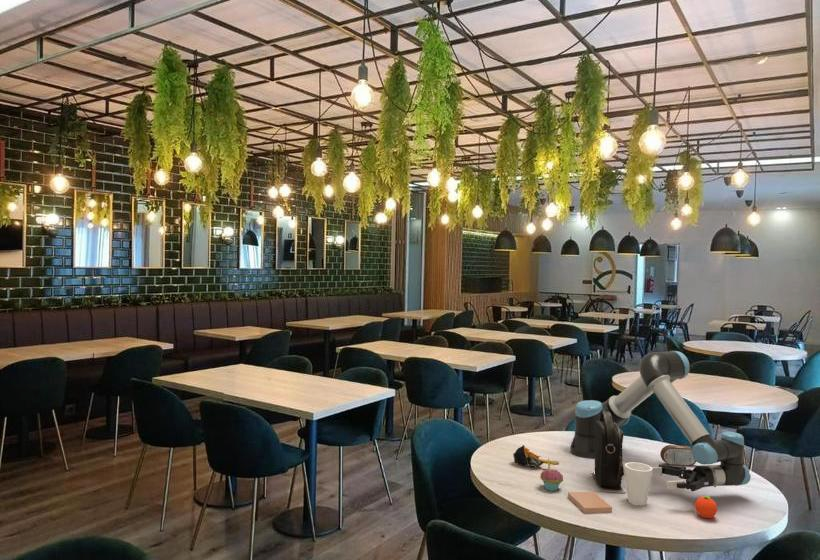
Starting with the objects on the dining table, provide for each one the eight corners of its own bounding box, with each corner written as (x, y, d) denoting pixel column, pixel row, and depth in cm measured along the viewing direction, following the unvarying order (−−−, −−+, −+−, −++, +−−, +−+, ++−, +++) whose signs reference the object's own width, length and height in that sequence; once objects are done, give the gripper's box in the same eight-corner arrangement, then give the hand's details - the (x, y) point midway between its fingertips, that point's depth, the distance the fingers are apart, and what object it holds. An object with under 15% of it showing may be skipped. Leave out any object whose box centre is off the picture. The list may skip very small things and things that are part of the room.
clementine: (700, 510, 202) (701, 490, 202) (721, 517, 197) (722, 496, 197) (690, 516, 197) (691, 496, 197) (712, 523, 192) (712, 502, 192)
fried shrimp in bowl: (512, 449, 251) (552, 439, 248) (519, 474, 247) (560, 465, 243) (509, 446, 243) (550, 436, 240) (516, 473, 238) (558, 463, 235)
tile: (593, 491, 212) (568, 492, 211) (612, 507, 199) (584, 508, 197) (593, 497, 212) (567, 498, 211) (611, 513, 199) (584, 514, 197)
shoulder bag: (589, 471, 239) (591, 404, 239) (612, 472, 238) (614, 405, 237) (600, 491, 217) (602, 418, 216) (625, 493, 216) (627, 420, 215)
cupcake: (549, 494, 213) (551, 462, 213) (535, 486, 221) (536, 455, 220) (567, 490, 217) (568, 459, 217) (552, 482, 225) (553, 452, 224)
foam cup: (650, 499, 211) (651, 464, 211) (652, 509, 202) (653, 472, 202) (622, 495, 214) (624, 461, 214) (623, 504, 205) (625, 469, 205)
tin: (695, 465, 250) (696, 445, 250) (698, 467, 247) (698, 448, 247) (659, 462, 252) (660, 443, 252) (662, 465, 249) (662, 446, 248)
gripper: (732, 499, 200) (677, 502, 197) (686, 473, 225) (636, 475, 221) (732, 478, 200) (678, 480, 197) (686, 454, 225) (637, 456, 221)
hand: (656, 478), depth 209 cm, fingers open, 13 cm apart
